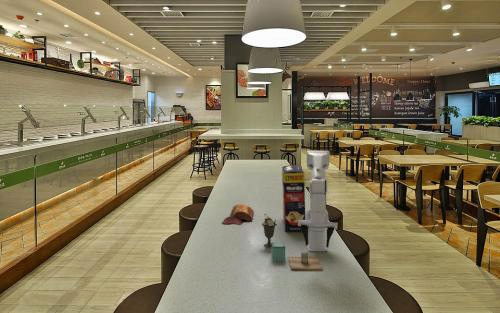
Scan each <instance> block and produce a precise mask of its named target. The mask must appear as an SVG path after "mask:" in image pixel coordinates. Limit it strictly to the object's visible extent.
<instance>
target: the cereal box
mask: <svg viewBox="0 0 500 313" xmlns="http://www.w3.org/2000/svg"><path fill="white" fill-rule="evenodd" d="M281 177H282V178H281V179H282V180H281V182H282V214H283V215H282V218H283V226H284V227H283V228H284V231H285V233H286V232H287V233H302V231H301V229H300V228H301V226H298V221H299V220H306V191H305V189H306V188H305V186H306V185H305V172H304V170H303V169H302V166H300V165H295V164H292V165H291V164H290V165H289V164H288V165H285V166H282V167H281Z"/></svg>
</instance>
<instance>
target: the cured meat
mask: <svg viewBox="0 0 500 313" xmlns="http://www.w3.org/2000/svg"><path fill="white" fill-rule="evenodd" d="M254 212H255V211H254V209H253V208H252V207H250V206H249V205H246V204H243V203H242V204H241V203H239V204H236V205H233V207H232V209H231V212H230V216H228V217H225V218H224V219H223V221H222V222H221V223H222V224H228V225H232V224H236V225H243V224H244V222H243V221H242V220H244V221H247V222H248V223H249V222H250V223H251V222H253V220H254V214H255V213H254Z"/></svg>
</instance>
